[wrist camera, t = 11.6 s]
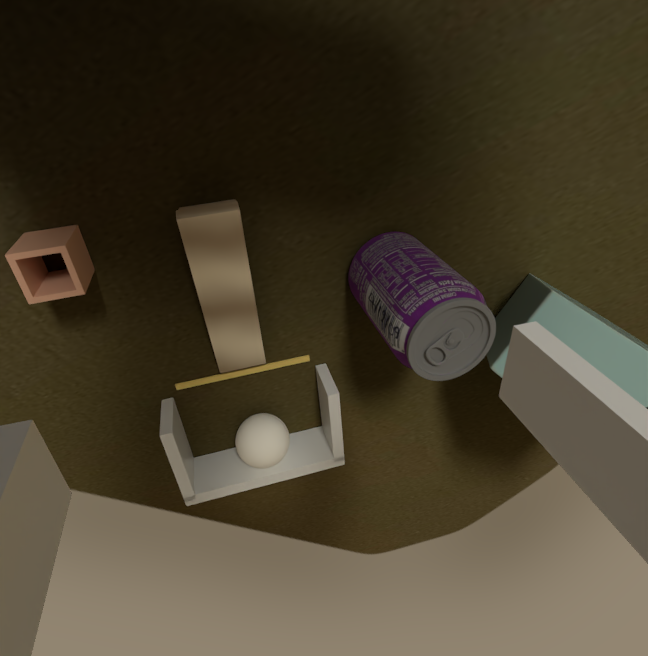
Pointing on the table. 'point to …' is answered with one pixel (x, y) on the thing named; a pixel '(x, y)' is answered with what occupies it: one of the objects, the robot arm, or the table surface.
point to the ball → (262, 440)
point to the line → (241, 372)
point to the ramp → (223, 281)
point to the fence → (235, 475)
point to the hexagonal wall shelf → (573, 335)
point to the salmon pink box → (33, 269)
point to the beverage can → (421, 306)
